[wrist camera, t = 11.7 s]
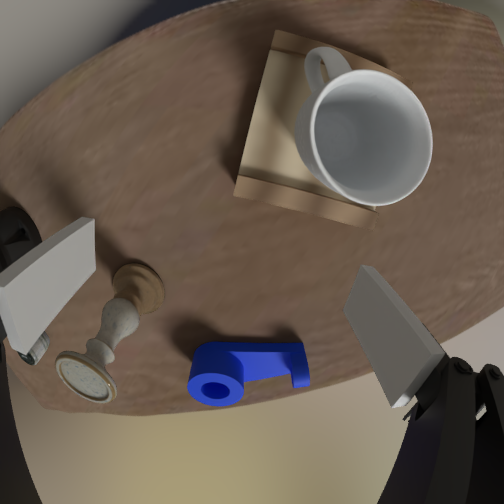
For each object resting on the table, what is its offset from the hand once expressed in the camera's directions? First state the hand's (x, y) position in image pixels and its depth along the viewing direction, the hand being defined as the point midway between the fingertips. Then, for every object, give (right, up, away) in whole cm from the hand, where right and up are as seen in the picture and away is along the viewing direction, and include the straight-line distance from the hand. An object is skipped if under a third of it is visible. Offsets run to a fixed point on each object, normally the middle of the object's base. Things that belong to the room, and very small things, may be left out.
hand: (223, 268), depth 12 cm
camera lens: (-47, -18, +34) cm, 60 cm away
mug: (+10, +15, +17) cm, 25 cm away
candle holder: (-16, -5, +28) cm, 33 cm away
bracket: (+1, -18, +34) cm, 39 cm away
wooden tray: (+10, +16, +19) cm, 27 cm away
